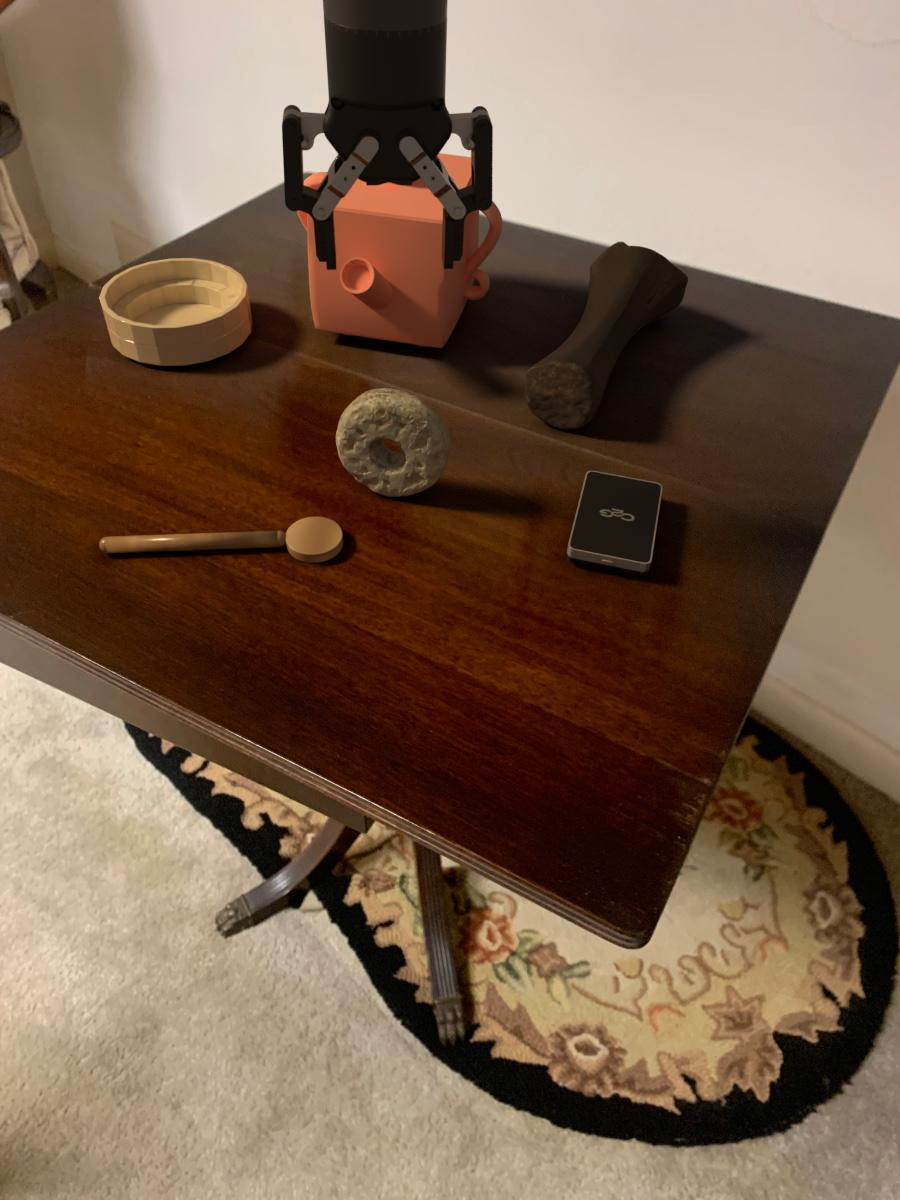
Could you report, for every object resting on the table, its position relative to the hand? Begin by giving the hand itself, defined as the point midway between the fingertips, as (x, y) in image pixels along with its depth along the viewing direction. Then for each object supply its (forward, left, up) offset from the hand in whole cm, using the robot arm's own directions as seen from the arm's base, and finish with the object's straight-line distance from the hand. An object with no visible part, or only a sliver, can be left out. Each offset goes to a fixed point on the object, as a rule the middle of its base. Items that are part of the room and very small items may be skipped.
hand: (390, 264), depth 65 cm
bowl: (-22, +28, -21) cm, 42 cm away
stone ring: (0, 0, -22) cm, 22 cm away
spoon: (-15, -7, -21) cm, 27 cm away
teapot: (+1, +28, -22) cm, 35 cm away
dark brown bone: (+24, +20, -22) cm, 38 cm away
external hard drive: (+19, -7, -22) cm, 29 cm away
